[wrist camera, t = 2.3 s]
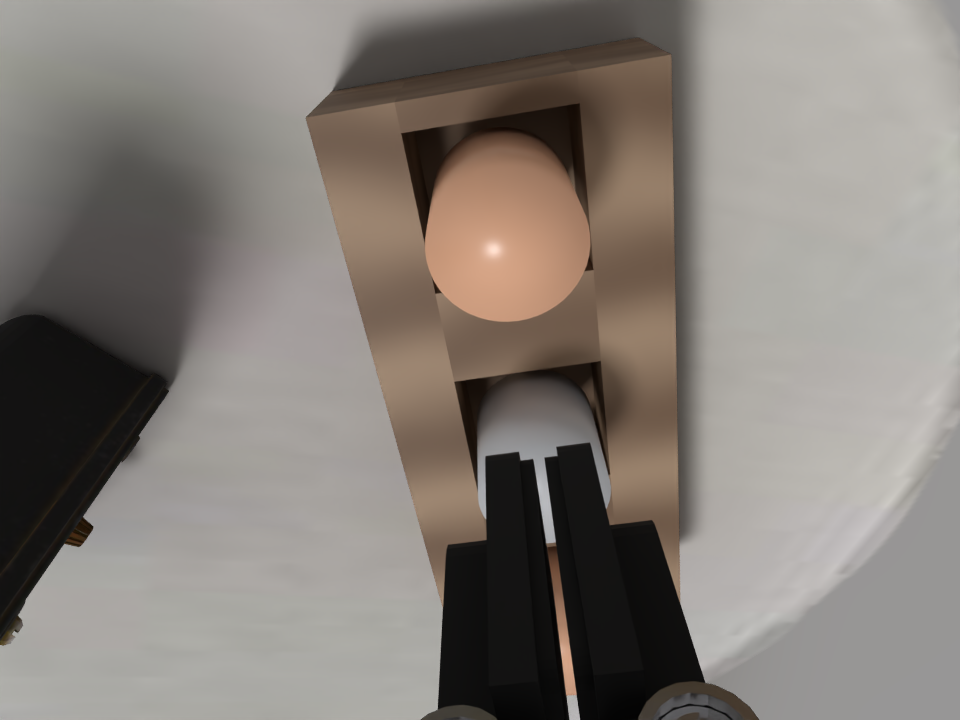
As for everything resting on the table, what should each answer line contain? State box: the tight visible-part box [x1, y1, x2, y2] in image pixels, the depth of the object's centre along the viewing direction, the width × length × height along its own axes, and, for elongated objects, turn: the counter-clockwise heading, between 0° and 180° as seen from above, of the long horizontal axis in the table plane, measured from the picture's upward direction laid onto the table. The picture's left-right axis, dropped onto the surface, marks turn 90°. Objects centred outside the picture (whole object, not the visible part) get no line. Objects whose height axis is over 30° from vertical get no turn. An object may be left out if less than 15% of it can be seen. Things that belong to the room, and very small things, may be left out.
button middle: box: [477, 370, 611, 543], centre depth 28 cm, size 5×5×5 cm
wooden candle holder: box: [306, 38, 680, 606], centre depth 31 cm, size 28×12×5 cm, turn 9°
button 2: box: [425, 127, 590, 322], centre depth 23 cm, size 5×5×5 cm
